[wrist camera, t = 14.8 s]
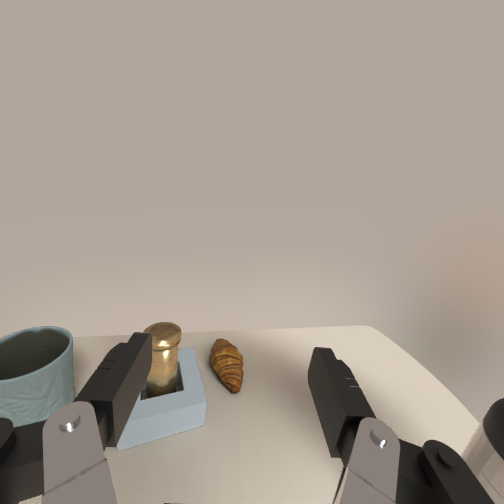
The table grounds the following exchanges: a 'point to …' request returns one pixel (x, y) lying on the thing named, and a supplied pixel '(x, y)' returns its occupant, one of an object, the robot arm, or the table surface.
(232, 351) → the croissant
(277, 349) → the table surface
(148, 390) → the brass flanged cylinder
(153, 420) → the frame
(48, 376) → the teal plant pot
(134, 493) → the table surface
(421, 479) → the robot arm
